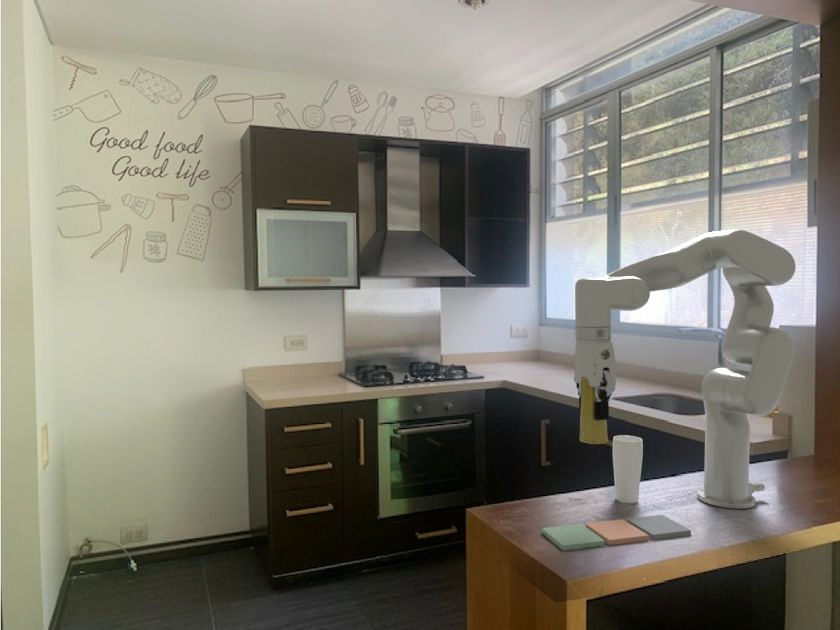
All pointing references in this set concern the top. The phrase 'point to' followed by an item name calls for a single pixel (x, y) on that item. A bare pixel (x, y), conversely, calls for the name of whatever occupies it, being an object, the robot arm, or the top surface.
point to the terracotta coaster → (617, 532)
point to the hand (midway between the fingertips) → (593, 415)
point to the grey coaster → (659, 527)
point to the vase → (590, 417)
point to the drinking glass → (627, 467)
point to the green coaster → (573, 537)
